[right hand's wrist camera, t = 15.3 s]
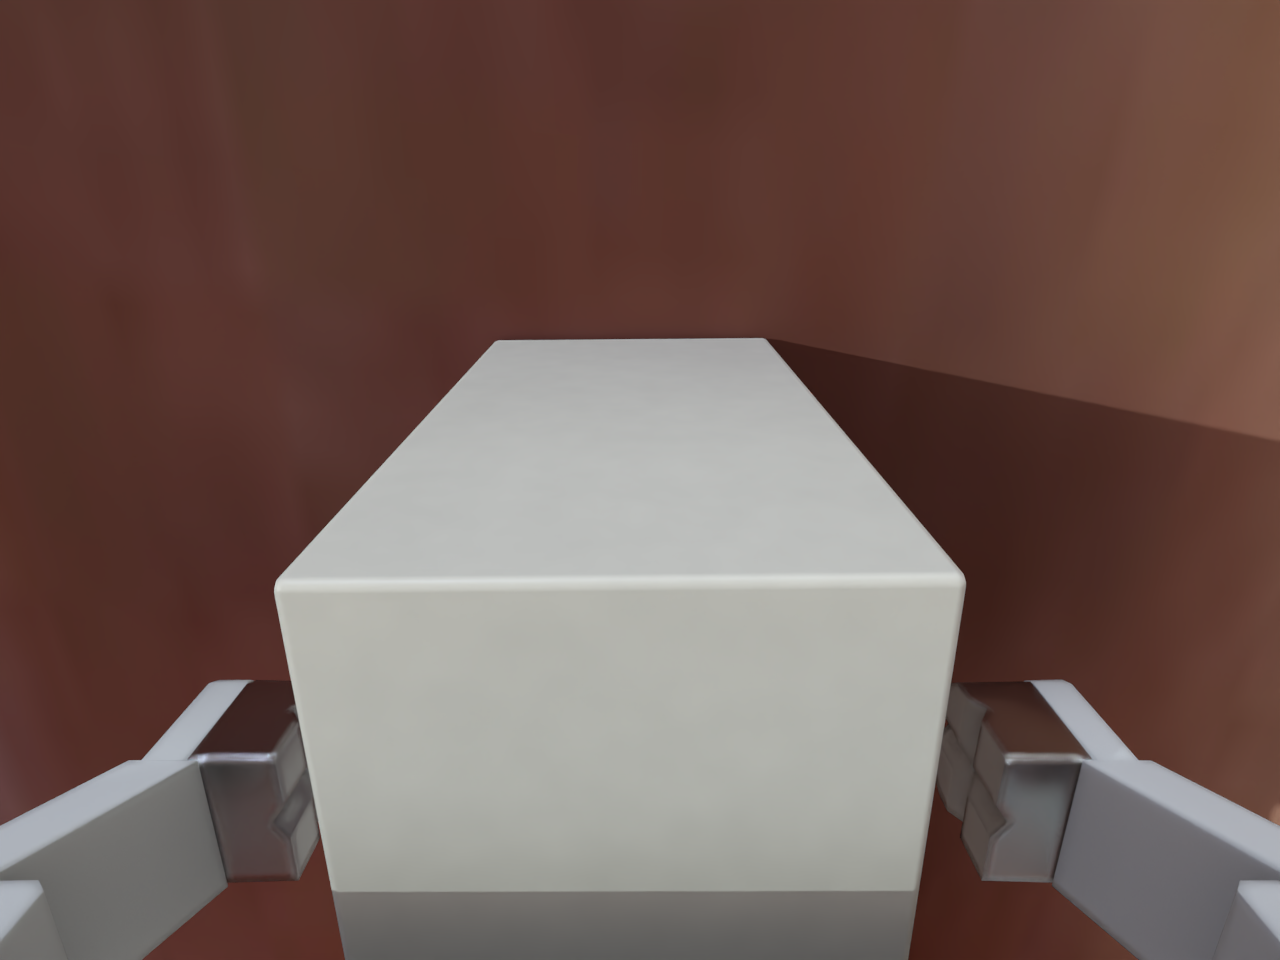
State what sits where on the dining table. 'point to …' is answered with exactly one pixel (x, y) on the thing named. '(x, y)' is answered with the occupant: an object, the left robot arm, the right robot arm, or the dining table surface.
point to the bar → (624, 670)
